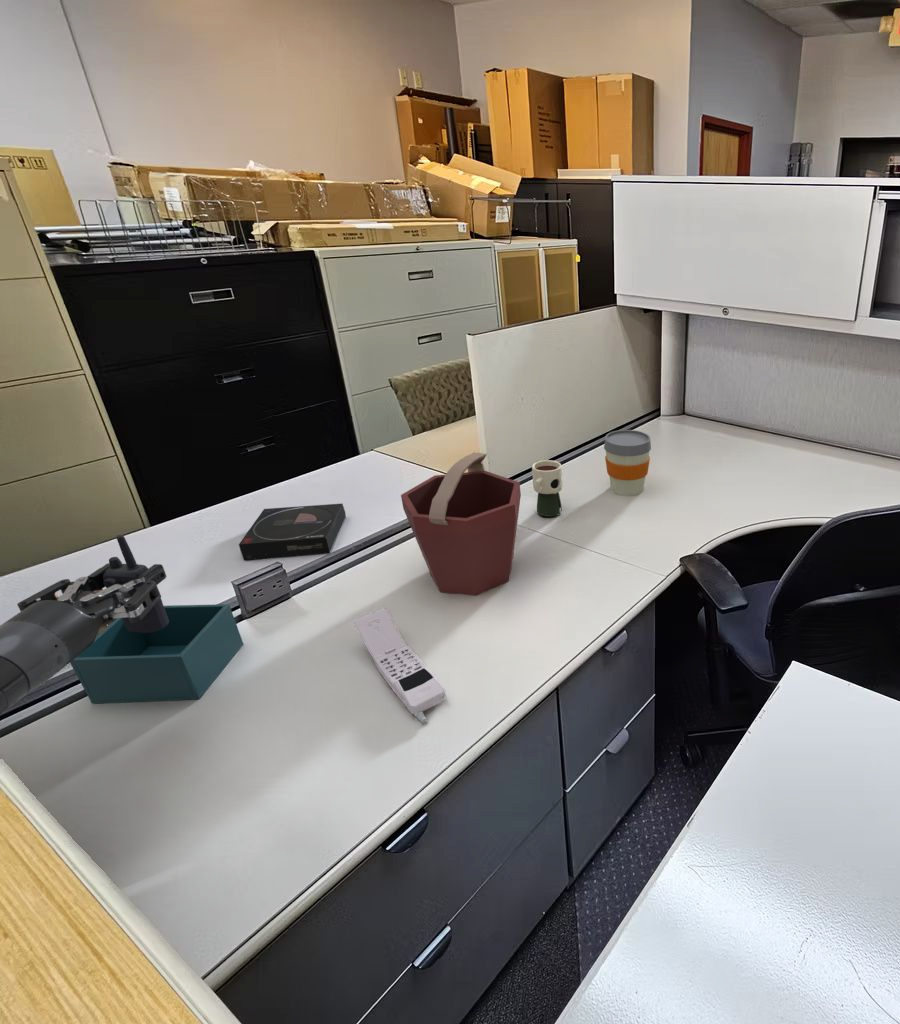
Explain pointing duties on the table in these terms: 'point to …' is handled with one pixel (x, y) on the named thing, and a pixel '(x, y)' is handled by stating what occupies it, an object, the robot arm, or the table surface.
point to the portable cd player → (293, 532)
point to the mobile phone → (399, 663)
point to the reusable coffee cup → (627, 460)
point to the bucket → (465, 526)
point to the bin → (160, 657)
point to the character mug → (547, 486)
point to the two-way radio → (125, 574)
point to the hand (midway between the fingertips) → (137, 569)
